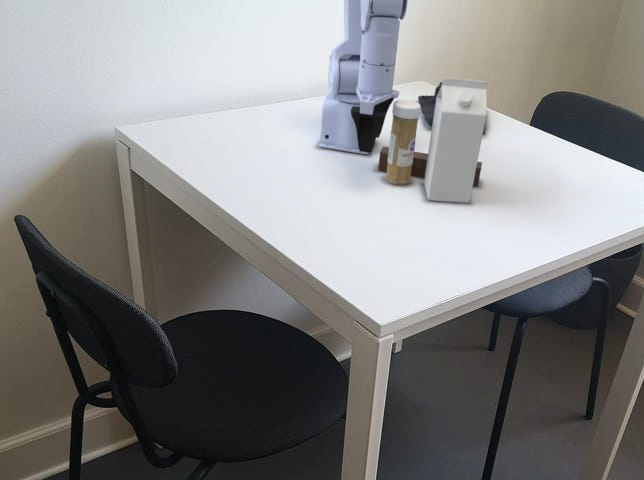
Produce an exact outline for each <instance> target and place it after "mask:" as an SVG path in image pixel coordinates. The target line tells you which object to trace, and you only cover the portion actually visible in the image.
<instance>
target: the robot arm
mask: <svg viewBox="0 0 644 480" xmlns="http://www.w3.org/2000/svg"><path fill="white" fill-rule="evenodd" d="M408 1H409V0H343V16H344V17H343V18H344V19H343V22H344V24H343V25H344V26H343V27H344V39H343V41H341V42H340V43H339V44H337V46H335V47H333V48H332V51H331V53H330V55H329V64H328V65H329V66H328V73H327V74H328V77H327V78H328V81H327V83H328V90H329V93H327V94H325V97H324V99H323V102H322V110H321V123H320V143H319V144H318V145H319V148H323V149H330V150H336V151H343V152H349V153H354V154H360V155H361V154H362V155H369V154H371V153H372V152H373V150H374V147H375V143H376V140H377V138H378V139H379V138H380V136H381V133H382V130H383V127H384V124H385V120H386V116H387V114H388V111H389V109H390V107H391V105H392V103H394V101H395V99H398V98H399V96H400V91H399V90H396V89H394V88H393V87H394V79H395V70H396V69H395V68H396V60H397V52H398V42H399V34H400V26H401V21H403V20H404V18H405V16H406V13H407V10H408Z"/></svg>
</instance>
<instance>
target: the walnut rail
mask: <svg viewBox="0 0 644 480" xmlns="http://www.w3.org/2000/svg"><path fill="white" fill-rule="evenodd" d="M388 152H389V146H382V147H381V149H380V152H379V158H378V166H377V167H378V168H377V171H378V172H380V173H381V172H382V173H387V166H388ZM427 158H428V153H426V152H420V151H414V156H413V163H412V168H411V176H410V177H412V178H417V179H424V178H425V172H426V165H427ZM482 167H483V162H482V161H477V166H476V171H475V177H474V182H473V187H472V188H478V187H479V182H480V177H481V171H482Z"/></svg>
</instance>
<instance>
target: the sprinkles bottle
mask: <svg viewBox="0 0 644 480" xmlns="http://www.w3.org/2000/svg"><path fill="white" fill-rule="evenodd" d="M420 116H421V106H420V104H419V102H417V101H414V100H410V99H398V100H394V101H393V104H392V123H391V130H390V137H389V143H388V147H389V152H388V166H387V172H386V174H385V176H384V177H385V180H386V181H387V182H388V183H390V184H393V185H401V186H402V185H403V186H404V185H407V184H410V182H411V177H412V176H411V168H412V163H413V156H414V152H415V149H416V138H417V130H418V123H419V118H420Z"/></svg>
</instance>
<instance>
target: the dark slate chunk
mask: <svg viewBox="0 0 644 480" xmlns="http://www.w3.org/2000/svg"><path fill="white" fill-rule="evenodd" d="M441 86H442V81H440V82H439V84H438V86H436V87H435V88H434V94H433V95H431V94H430V95H424V94H423V95H418V97H417V99H418V103H419V104H420V106H421V109H420V112H421V113H422V115H423V119H424V121H425V122H426V124H427V125H428V126H429V127H432V125H433V118H434V111H435V105H436V98H437V95H438V93H439V90H440V88H441ZM485 135H486V124H485V125H484V130H483V135H482V136H485Z"/></svg>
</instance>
